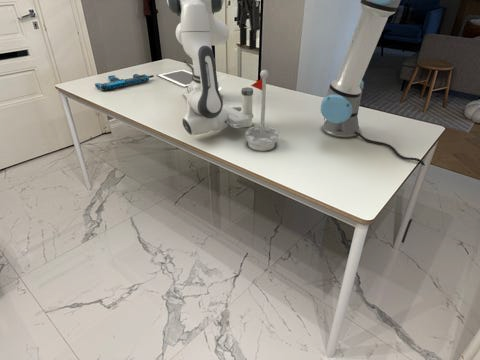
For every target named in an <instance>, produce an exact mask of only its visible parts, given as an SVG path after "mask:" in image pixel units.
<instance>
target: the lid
mask: <svg viewBox="0 0 480 360" xmlns="http://www.w3.org/2000/svg"><path fill="white" fill-rule="evenodd" d="M242 95H245V96H250V95H252V96H253V95H254V87H246V86H245V87H242V88H241V96H242Z"/></svg>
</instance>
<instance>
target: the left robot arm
mask: <svg viewBox="0 0 480 360" xmlns="http://www.w3.org/2000/svg"><path fill="white" fill-rule="evenodd" d="M224 2H225V0H166V3H167V5H168V8H169V10H170V11H171V12H172V13H173V14H175V15H177V17H180V22H179V23H178V24H177V26H176V28H175V37H176V40H177V41H178V43H179V44H180V45H181V46H182V47H183V51H184V52H185V53H186V55H187V56H188V57H189V58H191V61H192V66H193V67H192V66H191V64H189V63H188V62H187V60H184V61H183V62H184V63H185V64H186V65H187V66H189V67H190V69H191V73H193V74H192V82H191V83H190V84H189V85H188V86H187V87H186V92H185V93H183V96H184V97H185V98H186V99H185V102H186V107H185V113H184V116H183V118H182V126H183V128H184V130H185V131H186V132H187V133H188V134H189V135H190V136H199V135H202V134H203V135H204V134H207V133H209V132H211V131H219V130H223V129H226V128H227V127H228V126H229V127H232V128H234V129H240V128H247V127H246V126H249V124H250V119H251V118H252V119H253V118H254V114H253V112H252V113H249V114H248V115H244V114H242V107H241V106H231V105H229V104H227V103H224V100H223V96H222V94H221V92H220V90H221V89H222V87H220V85H219V84H220V83H219V82H218V75H217V67H216V59H215V55H214V51H213V48H212V46H219V45H220V46H221V45H224V44H226V43H227V41H228V39H229V37H230V30H229V29H230V28H229V27H228V25H227V24H226V23H225V22H224V21H221V19H218V18H217V17H216V16H215V13H219V12H221V10H222V9H223V5H224Z"/></svg>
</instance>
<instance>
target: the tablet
mask: <svg viewBox="0 0 480 360" xmlns="http://www.w3.org/2000/svg"><path fill="white" fill-rule="evenodd" d="M192 74H193V72H192V71H188V70H186V69H179V70H174V71H170V72H164V73H160V74H157V75H156V76H157V77H159V78H162V79H165V80H167V81H169V82H171V83H174V84H176V85H178V86H180V87H181V88H182V87H183V88H188V85H189V84H190V83H191V82H192Z"/></svg>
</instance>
